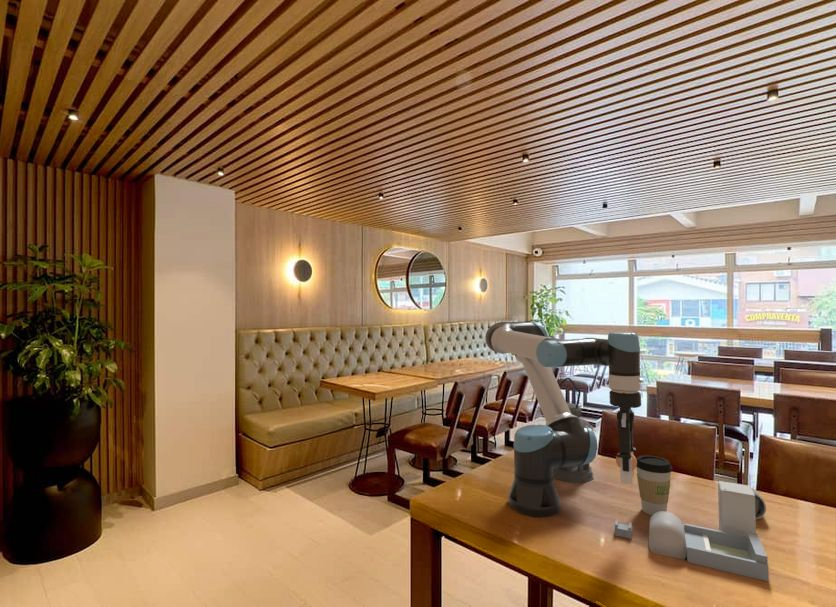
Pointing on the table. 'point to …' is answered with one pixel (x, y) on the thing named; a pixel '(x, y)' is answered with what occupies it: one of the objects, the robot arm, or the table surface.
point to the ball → (634, 461)
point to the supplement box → (736, 508)
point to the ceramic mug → (758, 505)
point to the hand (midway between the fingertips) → (627, 478)
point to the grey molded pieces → (704, 545)
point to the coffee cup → (653, 483)
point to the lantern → (576, 472)
